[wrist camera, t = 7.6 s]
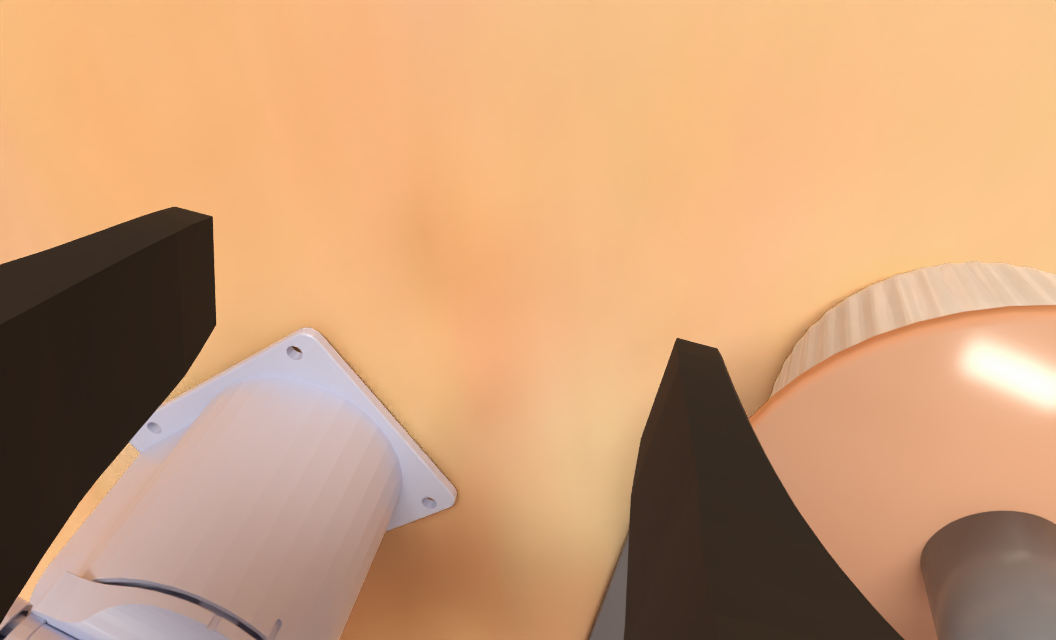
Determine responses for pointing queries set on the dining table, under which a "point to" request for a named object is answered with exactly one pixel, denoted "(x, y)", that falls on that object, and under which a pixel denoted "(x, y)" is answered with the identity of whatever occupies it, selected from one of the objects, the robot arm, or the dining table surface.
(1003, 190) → the dining table surface
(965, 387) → the lid
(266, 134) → the dining table surface
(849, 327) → the ramekin
